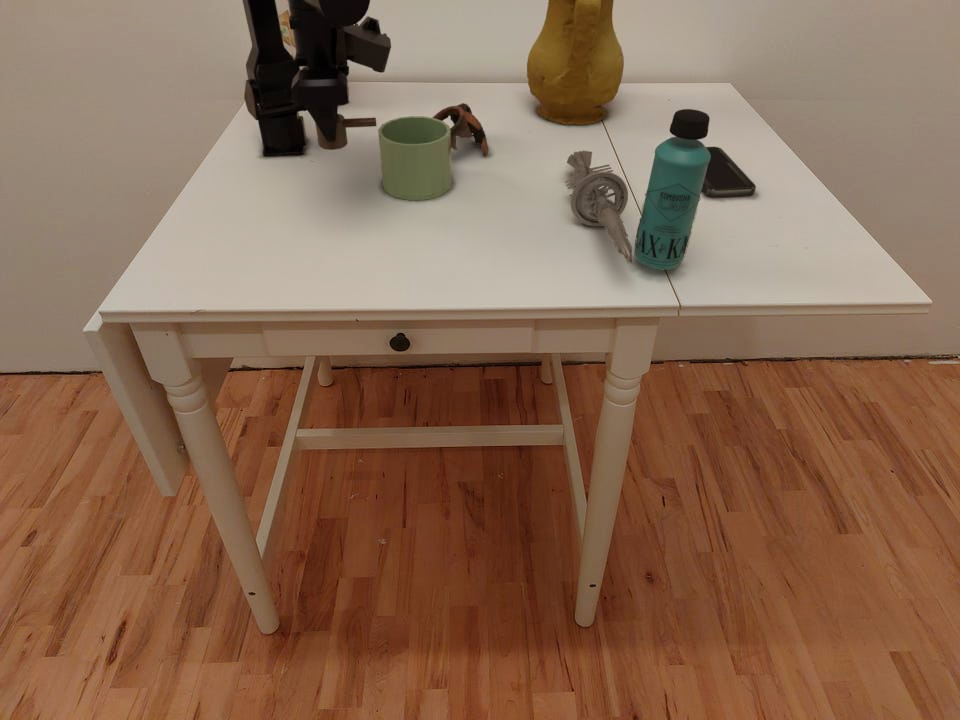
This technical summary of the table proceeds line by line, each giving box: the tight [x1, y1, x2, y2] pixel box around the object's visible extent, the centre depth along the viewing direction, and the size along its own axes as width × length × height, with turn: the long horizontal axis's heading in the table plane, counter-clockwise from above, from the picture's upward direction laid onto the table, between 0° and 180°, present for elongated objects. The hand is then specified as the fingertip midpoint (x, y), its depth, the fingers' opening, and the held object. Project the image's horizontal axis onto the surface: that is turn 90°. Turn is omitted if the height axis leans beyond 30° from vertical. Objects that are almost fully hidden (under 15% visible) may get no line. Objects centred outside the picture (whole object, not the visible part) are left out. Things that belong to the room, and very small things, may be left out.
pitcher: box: [526, 0, 625, 126], centre depth 116 cm, size 17×19×25 cm
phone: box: [701, 146, 757, 198], centre depth 106 cm, size 8×1×15 cm
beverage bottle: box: [633, 108, 711, 270], centre depth 80 cm, size 6×7×20 cm
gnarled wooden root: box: [432, 102, 489, 157], centre depth 110 cm, size 12×9×8 cm
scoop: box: [314, 113, 377, 151], centre depth 87 cm, size 8×4×3 cm, turn 98°
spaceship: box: [564, 150, 633, 264], centre depth 91 cm, size 8×35×8 cm
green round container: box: [377, 115, 452, 201], centre depth 100 cm, size 10×10×8 cm
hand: (331, 134), depth 87 cm, fingers closed on scoop, 4 cm apart
